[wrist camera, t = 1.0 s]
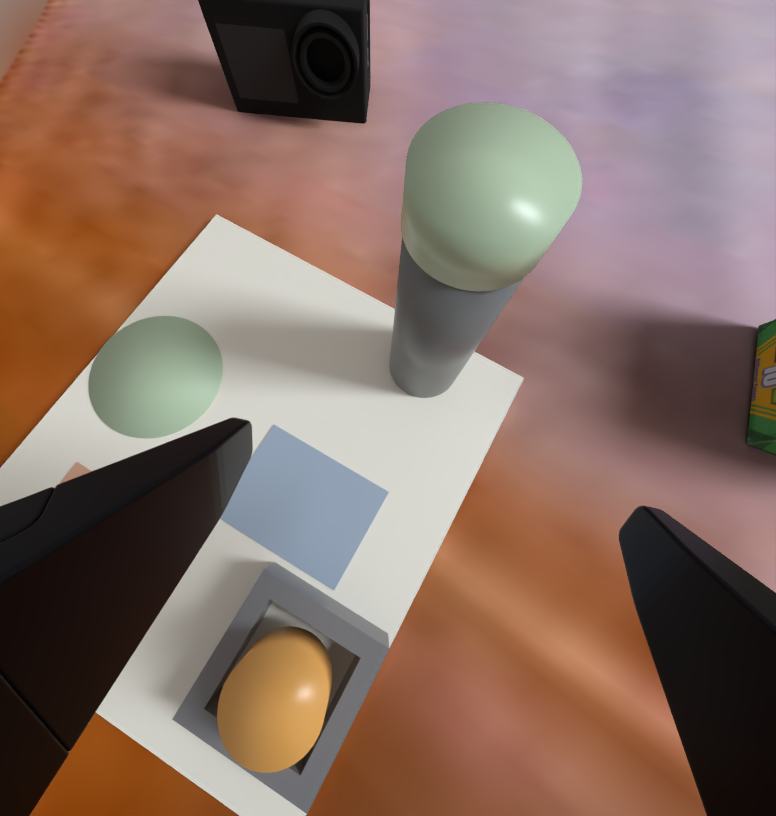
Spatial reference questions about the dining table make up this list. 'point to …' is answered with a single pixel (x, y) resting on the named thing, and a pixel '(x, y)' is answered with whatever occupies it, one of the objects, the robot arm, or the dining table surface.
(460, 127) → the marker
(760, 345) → the chalk box
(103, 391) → the colouring board
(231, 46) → the digital camera
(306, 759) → the button housing
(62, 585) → the robot arm
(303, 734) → the button
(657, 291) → the dining table surface
